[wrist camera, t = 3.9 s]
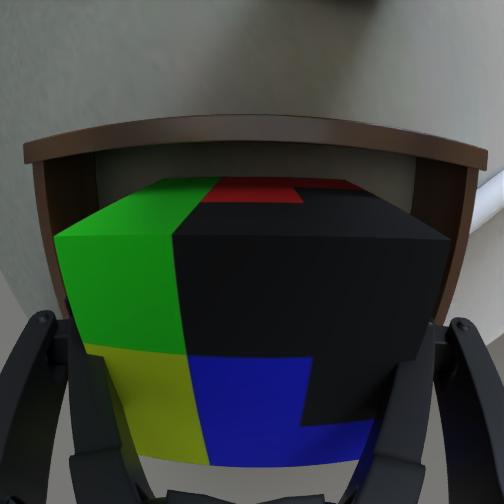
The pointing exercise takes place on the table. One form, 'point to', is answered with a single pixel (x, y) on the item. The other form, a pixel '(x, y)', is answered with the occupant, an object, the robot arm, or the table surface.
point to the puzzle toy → (252, 313)
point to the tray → (259, 130)
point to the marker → (488, 201)
